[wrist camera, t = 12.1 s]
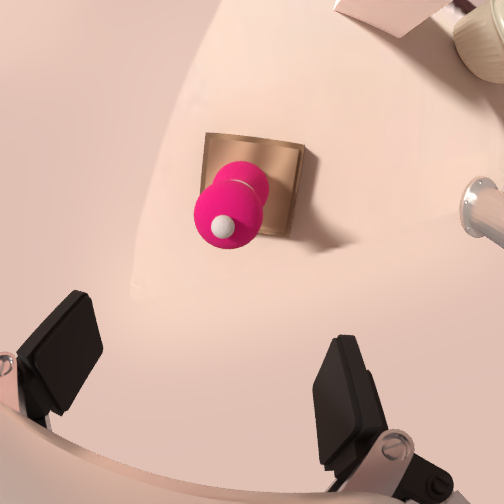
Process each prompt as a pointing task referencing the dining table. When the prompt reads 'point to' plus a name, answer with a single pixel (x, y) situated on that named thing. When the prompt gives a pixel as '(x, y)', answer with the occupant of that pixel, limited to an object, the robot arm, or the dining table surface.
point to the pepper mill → (232, 205)
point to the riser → (270, 162)
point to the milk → (391, 13)
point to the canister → (483, 41)
